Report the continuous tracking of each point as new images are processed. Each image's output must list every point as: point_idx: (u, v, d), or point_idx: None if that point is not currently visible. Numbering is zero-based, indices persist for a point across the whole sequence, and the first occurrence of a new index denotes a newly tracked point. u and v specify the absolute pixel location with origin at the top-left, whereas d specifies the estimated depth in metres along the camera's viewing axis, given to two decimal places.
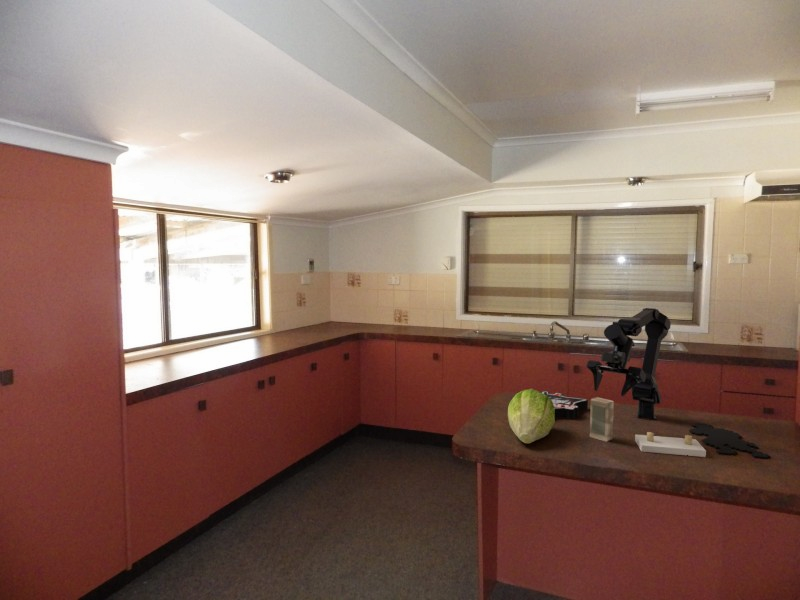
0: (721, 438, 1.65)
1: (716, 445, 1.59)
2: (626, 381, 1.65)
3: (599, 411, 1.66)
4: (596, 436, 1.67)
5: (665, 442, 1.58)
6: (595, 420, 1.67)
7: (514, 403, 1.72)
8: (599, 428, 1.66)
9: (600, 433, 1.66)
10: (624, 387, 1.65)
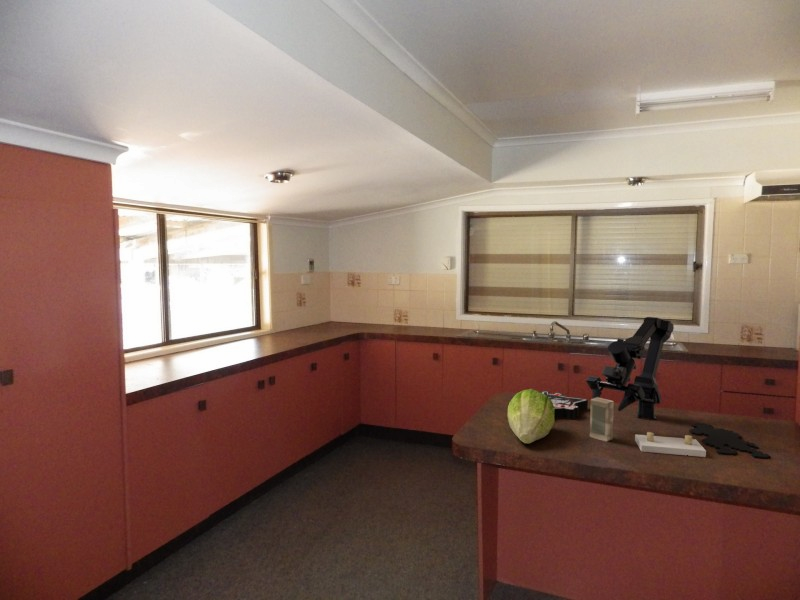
0: (721, 438, 1.65)
1: (716, 445, 1.59)
2: (624, 397, 1.66)
3: (599, 411, 1.66)
4: (596, 436, 1.67)
5: (665, 442, 1.58)
6: (595, 420, 1.67)
7: (514, 403, 1.72)
8: (599, 428, 1.66)
9: (600, 433, 1.66)
10: (622, 402, 1.66)
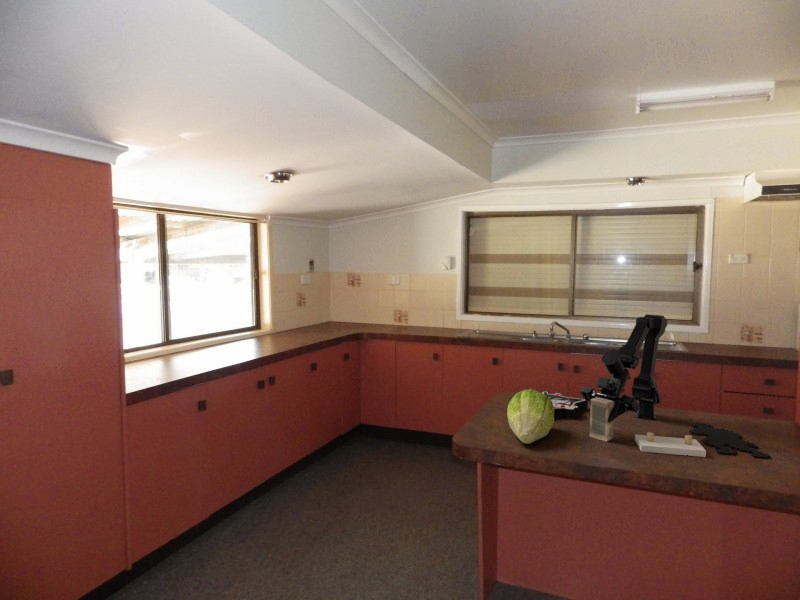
0: (721, 438, 1.65)
1: (716, 445, 1.59)
2: (614, 408, 1.65)
3: (599, 411, 1.66)
4: (596, 436, 1.67)
5: (665, 442, 1.58)
6: (595, 420, 1.67)
7: (514, 403, 1.71)
8: (599, 428, 1.66)
9: (600, 433, 1.66)
10: (612, 413, 1.64)
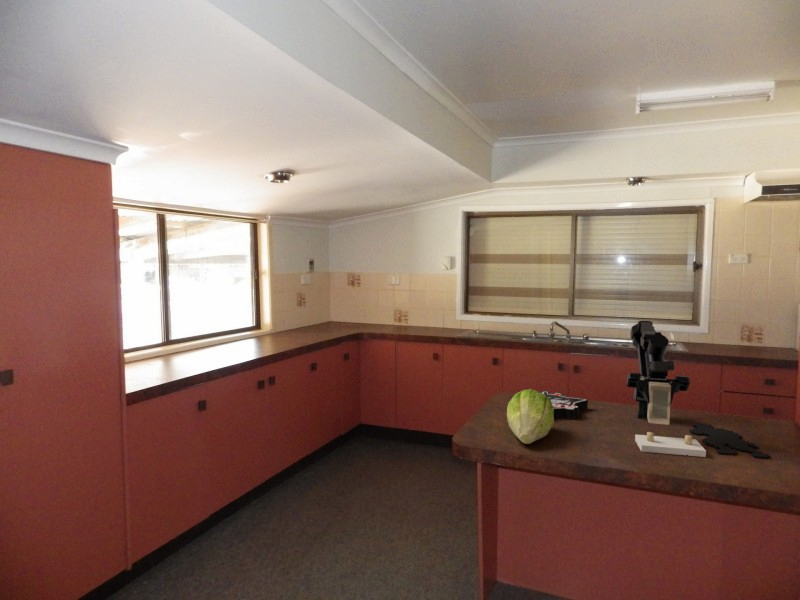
0: (721, 438, 1.65)
1: (716, 445, 1.59)
2: (672, 389, 1.65)
3: (661, 395, 1.63)
4: (657, 421, 1.65)
5: (665, 442, 1.58)
6: (656, 405, 1.64)
7: (513, 403, 1.71)
8: (661, 412, 1.64)
9: (662, 417, 1.64)
10: (671, 395, 1.64)
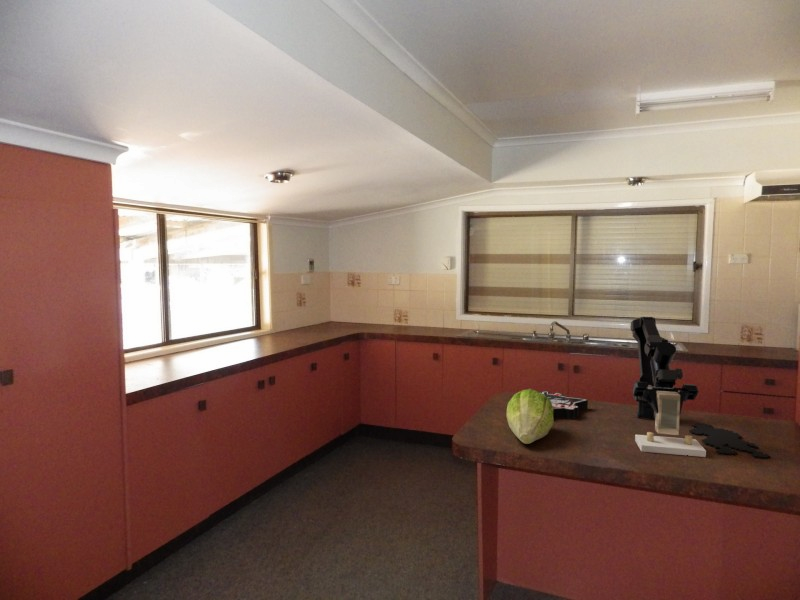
0: (721, 438, 1.65)
1: (716, 445, 1.59)
2: (680, 399, 1.60)
3: (670, 405, 1.58)
4: (666, 431, 1.59)
5: (665, 442, 1.58)
6: (665, 415, 1.59)
7: (513, 403, 1.71)
8: (670, 422, 1.59)
9: (671, 427, 1.59)
10: (680, 405, 1.59)
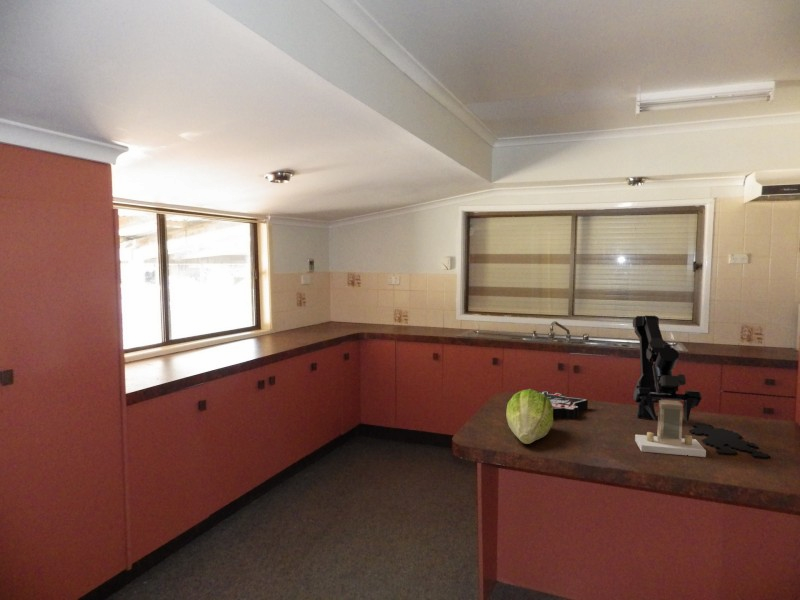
0: (721, 438, 1.65)
1: (716, 445, 1.59)
2: (688, 405, 1.57)
3: (673, 414, 1.55)
4: (668, 441, 1.56)
5: None
6: (668, 425, 1.56)
7: (513, 403, 1.71)
8: (673, 432, 1.56)
9: (674, 437, 1.56)
10: (688, 412, 1.56)
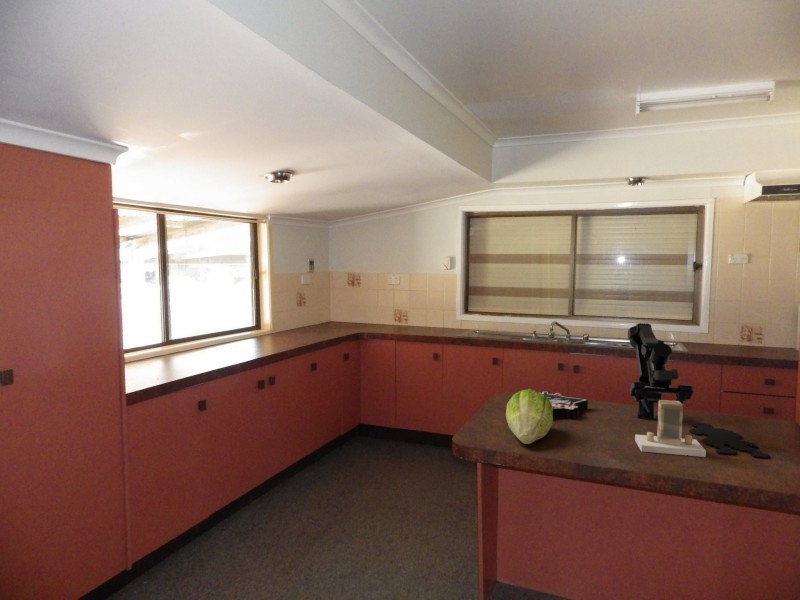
0: (721, 438, 1.65)
1: (716, 445, 1.59)
2: (680, 399, 1.65)
3: (673, 414, 1.55)
4: (668, 441, 1.56)
5: None
6: (668, 425, 1.56)
7: (513, 403, 1.71)
8: (673, 432, 1.56)
9: (674, 437, 1.56)
10: None
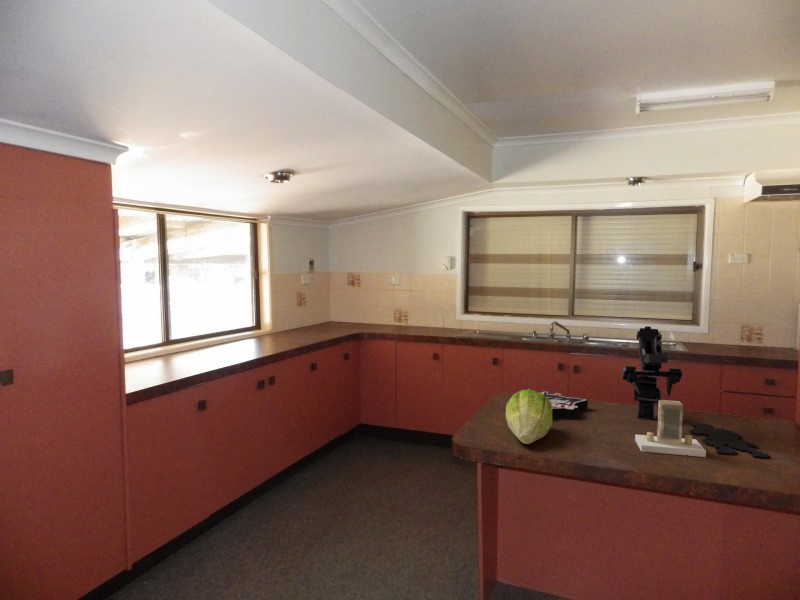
0: (721, 438, 1.65)
1: (716, 445, 1.59)
2: (670, 381, 1.72)
3: (673, 414, 1.55)
4: (668, 441, 1.56)
5: None
6: (668, 425, 1.56)
7: (512, 403, 1.71)
8: (673, 432, 1.56)
9: (674, 437, 1.56)
10: (670, 387, 1.71)
